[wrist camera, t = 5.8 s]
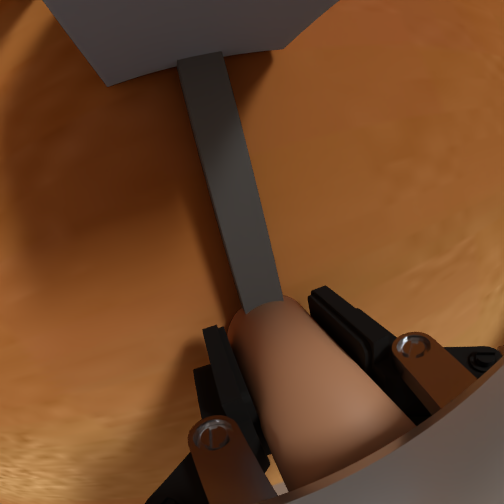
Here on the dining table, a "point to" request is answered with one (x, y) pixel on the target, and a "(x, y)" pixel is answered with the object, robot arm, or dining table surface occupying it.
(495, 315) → the dining table surface
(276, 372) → the block
